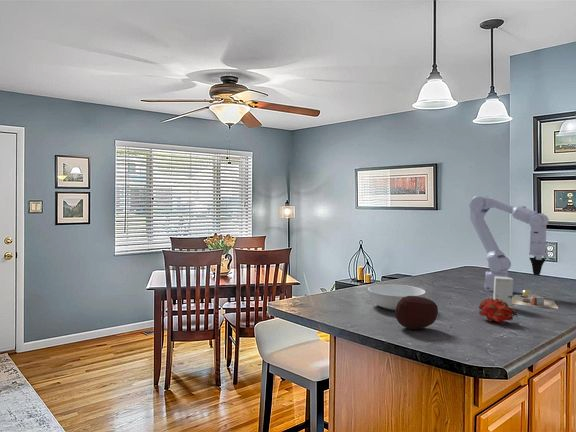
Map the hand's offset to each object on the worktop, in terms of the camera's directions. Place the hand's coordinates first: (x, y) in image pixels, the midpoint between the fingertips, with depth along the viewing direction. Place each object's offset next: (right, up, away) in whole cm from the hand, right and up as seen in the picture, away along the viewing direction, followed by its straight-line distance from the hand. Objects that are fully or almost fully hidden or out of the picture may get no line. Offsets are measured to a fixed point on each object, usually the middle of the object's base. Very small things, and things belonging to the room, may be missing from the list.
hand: (536, 275), depth 186 cm
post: (-8, -9, -7) cm, 14 cm away
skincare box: (-24, -11, -20) cm, 33 cm away
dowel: (-10, -10, -15) cm, 20 cm away
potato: (-64, -11, -47) cm, 80 cm away
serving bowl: (-64, -10, -20) cm, 67 cm away
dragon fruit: (-34, -11, -37) cm, 51 cm away
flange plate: (-8, -9, -10) cm, 16 cm away
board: (-7, -10, -9) cm, 16 cm away
